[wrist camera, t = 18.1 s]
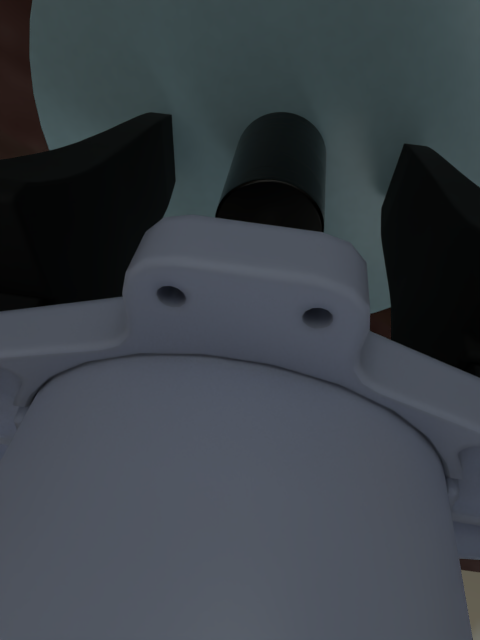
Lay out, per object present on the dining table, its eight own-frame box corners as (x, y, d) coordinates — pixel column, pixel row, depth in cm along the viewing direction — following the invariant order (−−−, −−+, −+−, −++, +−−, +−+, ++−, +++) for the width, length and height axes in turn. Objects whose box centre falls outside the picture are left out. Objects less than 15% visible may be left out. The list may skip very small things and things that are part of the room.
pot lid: (762, -223, 7) (1076, -272, 4) (431, 327, 18) (450, 427, 15) (-46, -282, 8) (-279, -359, 5) (99, 279, 19) (53, 364, 16)
